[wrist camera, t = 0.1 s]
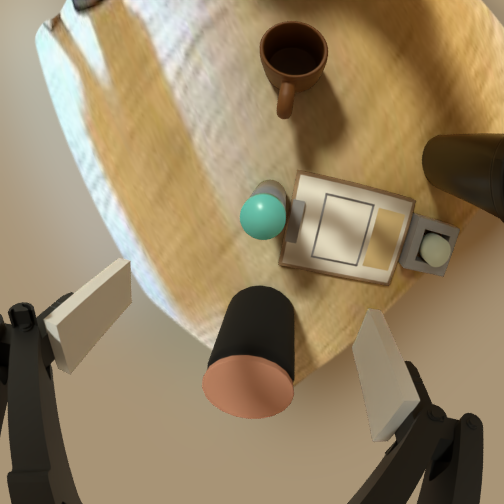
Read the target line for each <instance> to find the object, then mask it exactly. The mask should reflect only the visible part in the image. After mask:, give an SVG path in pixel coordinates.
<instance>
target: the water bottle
mask: <svg viewBox="0 0 504 504" xmlns="http://www.w3.org/2000/svg"><path fill="white" fill-rule="evenodd" d="M422 165H423V170H424V173H425V175H426V177H427V179H428V180H429V182H430V183H431V184H432V185H433V186H435V187H437V188H439V189H441V190H443V191H445V192H448V193H450V194H452V195H454V196H456V197H458V198H460V199H463V200H465V201H467V202H469V203H471V204H473V205H475V206H477V207H479V208H481V209H483V210H485V211H487V212H488V213H491V214H493V215H494V216H496V217H498V218H500V219H501V220H502V222H504V134H450V135H438V136H435V137H433V138H432V139H430V140H429V141H428V143H427V144H426V146H425V148H424V151H423V155H422Z"/></svg>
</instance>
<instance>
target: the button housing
mask: <svg viewBox="0 0 504 504" xmlns="http://www.w3.org/2000/svg"><path fill="white" fill-rule="evenodd" d="M425 229H427V230H430V231H434V232H437V233H440V234H442V236H441V237H442V238H444V239H445V240H446V241H448V243H449V245H450V248H451V252H450V256H449V258H448V260H447V262H446V263H445V264H443V265H442V266H440V267H432V266H430V265H429V264H428V263H427V262H426V261H425V260H424V259H423V258H422V257H418V256H417V253H418V250H419V247H420V244H421V241H422V238H423V234H424V231H425ZM459 231H460V229H459V228H457V227H455V226H454V225H451V224H448V223H445V222H442V221H439V220H436V219H432V218H429V217H426V216H423V215H419V214H416V213H413V215H412V219H411V222H410V226H409V229H408V232H407V236H406V239H405V242H404V245H403V249H402V252H401V255H400V258H399V261H398V262H399V263H400V264H401V265H402V267H403V268H406V269H411V270H415V271H420V272H425V273H430V274H434V275H439V276H444V274H445V271H446V269H447V266H448V263H449V260H450V258H451V255H452V252H453V249H454V246H455V243H456V240H457V237H458V234H459Z"/></svg>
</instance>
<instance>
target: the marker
mask: <svg viewBox="0 0 504 504" xmlns="http://www.w3.org/2000/svg"><path fill="white" fill-rule="evenodd" d="M240 222H241V225H242V227H243V229H244V230H245V232H246V233H247V234H248V235H250V236H251V237H253V238H256V239H259V240H267V239H271V238H274V237H275V236H277V235H278V234H279V233H280V232H281V231H282V230H283V228H284V226H285V222H286V192H285V189H284V187H283V186H282V185H281V184H280V183H279V182H277V181H274V180H266V181H263V182H261V183H260V184H259V185H258V186H257V188H256V189H255V190H254V192H253V193H252V195H251V196H250V198H249V199H248V200H247V201H246V202H245V204H244V205H243V207H242V209H241V213H240Z"/></svg>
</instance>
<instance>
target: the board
mask: <svg viewBox="0 0 504 504" xmlns="http://www.w3.org/2000/svg"><path fill="white" fill-rule="evenodd" d="M415 202H416V200H414V199H411V198H408V197H405V196H401V195H398V194H395V193H391V192H387V191H384V190H380V189H377V188H373V187H369V186H365V185H361V184H358V183H354V182H350V181H345V180H341V179H337V178H333V177H328V176H324V175H320V174H315V173H310V172H306V171H301V170H297V174H296V179H295V185H294V190H293V195H292V200H291V205H290V210H289V215H288V220H287V224H286V229H285V234H284V239H283V244H282V248H281V253H280V258H279V262H278V265H282V266H287V267H292V268H297V269H302V270H307V271H313V272H318V273H323V274H328V275H334V276H339V277H344V278H349V279H355V280H360V281H365V282H371V283H376V284H381V285H387V286H389V284H390V282H391V279H392V276H393V273H394V271H395V268H396V265H397V262H398V259H399V256H400V253H401V250H402V247H403V244H404V240H405V237H406V234H407V231H408V227H409V224H410V220H411V217H412V213H413V209H414V206H415Z"/></svg>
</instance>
